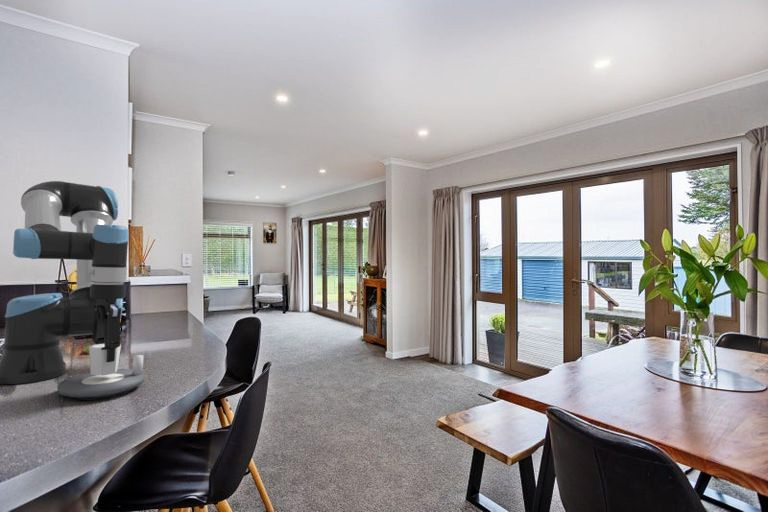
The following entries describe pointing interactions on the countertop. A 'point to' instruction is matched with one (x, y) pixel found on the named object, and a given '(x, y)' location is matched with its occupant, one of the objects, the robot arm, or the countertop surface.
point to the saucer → (87, 349)
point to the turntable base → (101, 396)
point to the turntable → (103, 382)
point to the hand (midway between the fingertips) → (104, 370)
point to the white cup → (99, 358)
